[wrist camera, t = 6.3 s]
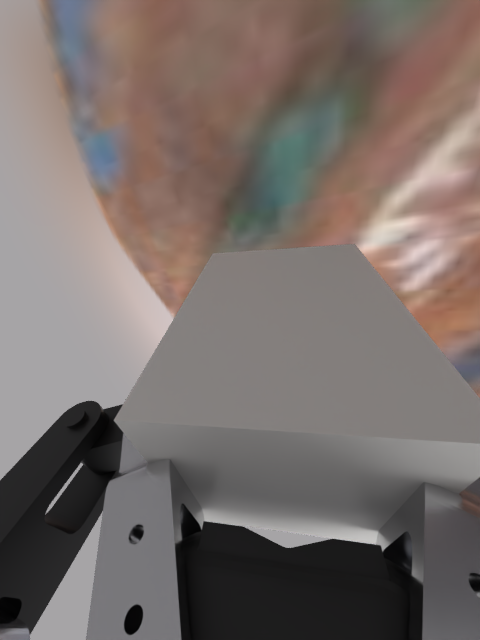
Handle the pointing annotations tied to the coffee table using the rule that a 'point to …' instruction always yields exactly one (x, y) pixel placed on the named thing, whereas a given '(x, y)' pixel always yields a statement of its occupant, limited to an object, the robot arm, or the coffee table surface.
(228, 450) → the left white block
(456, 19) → the coffee table surface
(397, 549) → the robot arm
